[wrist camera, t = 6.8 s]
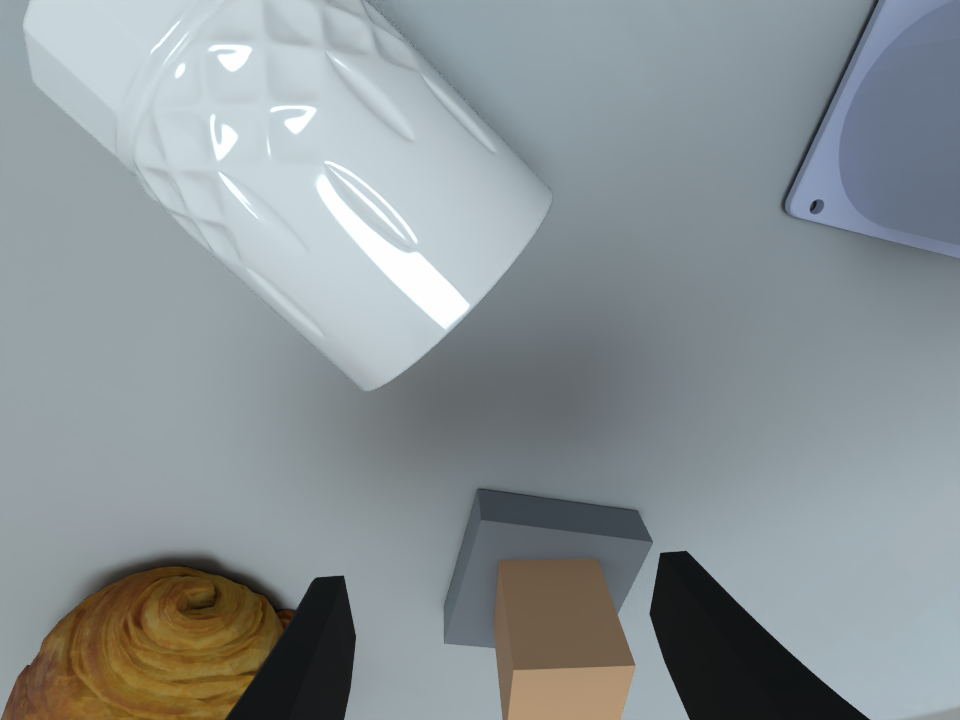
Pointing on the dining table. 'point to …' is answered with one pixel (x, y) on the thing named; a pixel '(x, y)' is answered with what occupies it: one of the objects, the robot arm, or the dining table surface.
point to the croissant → (151, 651)
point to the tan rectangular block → (559, 642)
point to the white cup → (301, 159)
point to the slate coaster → (536, 553)
